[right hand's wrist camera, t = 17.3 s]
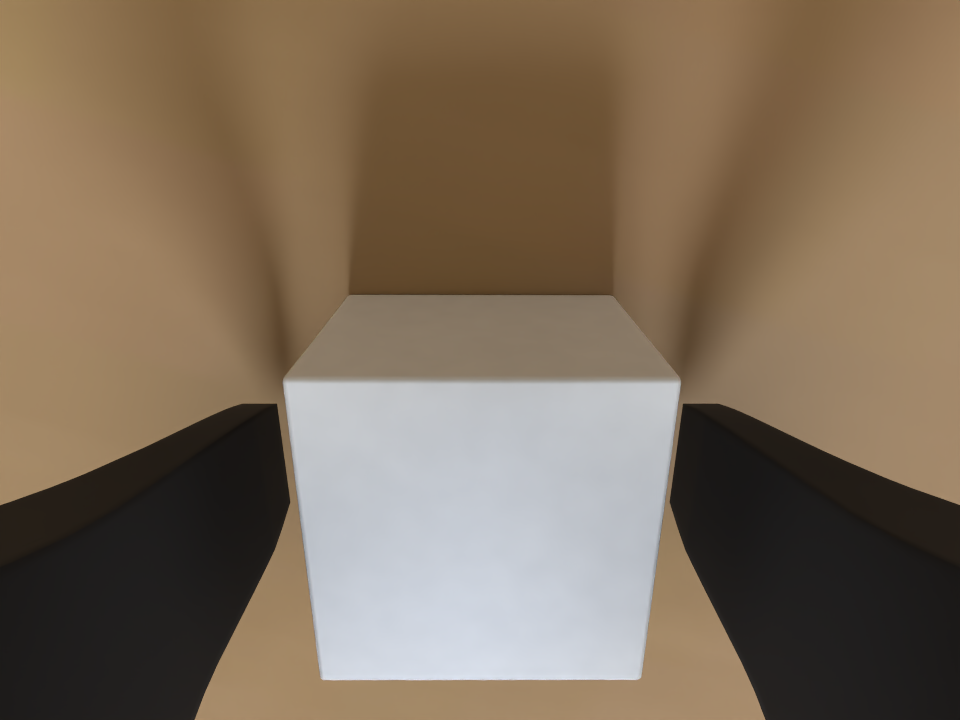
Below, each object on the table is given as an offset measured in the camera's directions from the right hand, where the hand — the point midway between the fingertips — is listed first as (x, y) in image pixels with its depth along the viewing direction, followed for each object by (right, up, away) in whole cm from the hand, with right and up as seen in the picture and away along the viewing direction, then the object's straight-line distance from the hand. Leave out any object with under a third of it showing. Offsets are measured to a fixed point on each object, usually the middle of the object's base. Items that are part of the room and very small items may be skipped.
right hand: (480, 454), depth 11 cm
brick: (0, +1, +1) cm, 2 cm away
